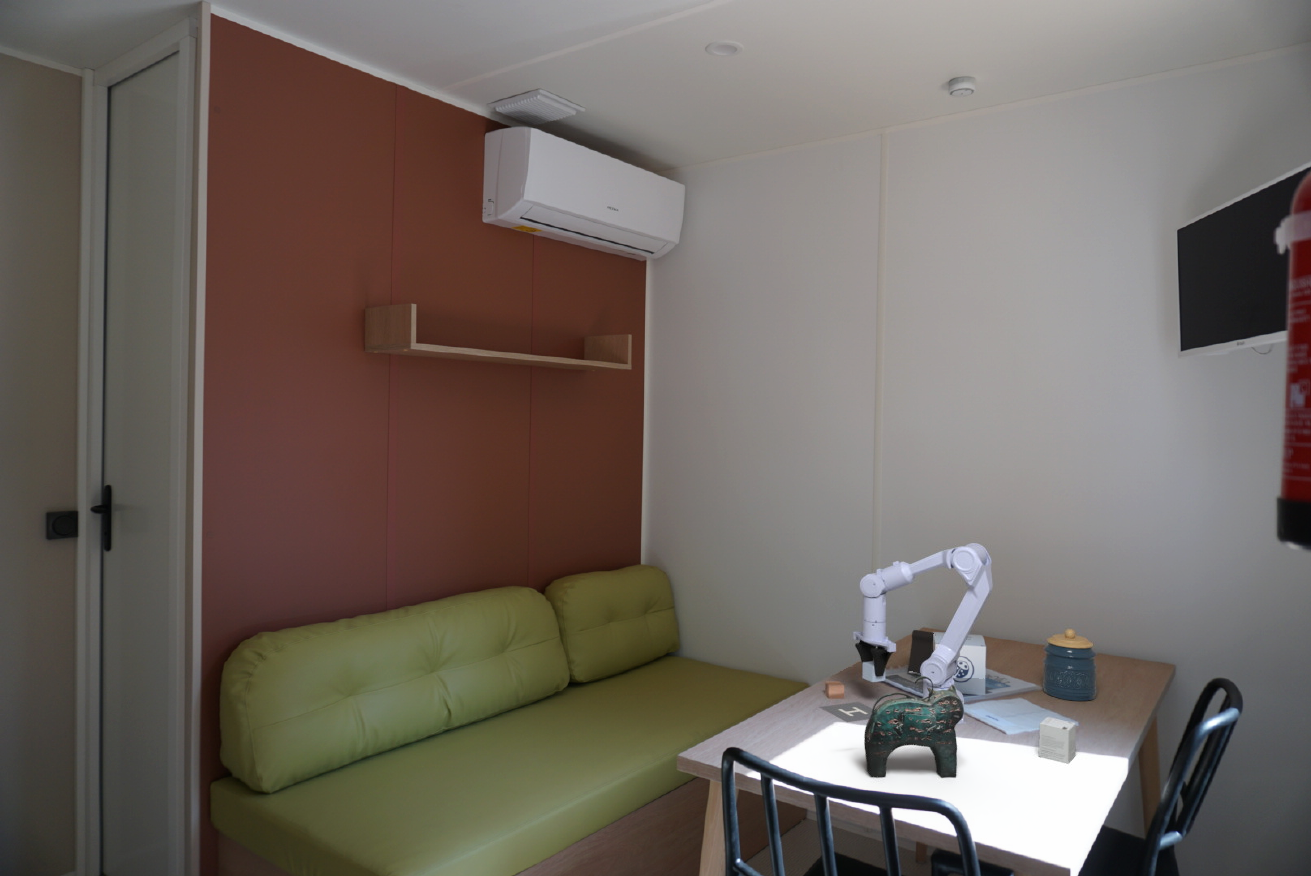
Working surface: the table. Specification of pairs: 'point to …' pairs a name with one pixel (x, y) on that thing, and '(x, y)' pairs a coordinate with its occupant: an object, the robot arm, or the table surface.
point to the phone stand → (920, 649)
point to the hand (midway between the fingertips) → (873, 673)
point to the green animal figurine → (914, 729)
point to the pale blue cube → (871, 672)
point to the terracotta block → (834, 690)
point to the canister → (1070, 667)
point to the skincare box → (1057, 740)
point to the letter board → (850, 711)
